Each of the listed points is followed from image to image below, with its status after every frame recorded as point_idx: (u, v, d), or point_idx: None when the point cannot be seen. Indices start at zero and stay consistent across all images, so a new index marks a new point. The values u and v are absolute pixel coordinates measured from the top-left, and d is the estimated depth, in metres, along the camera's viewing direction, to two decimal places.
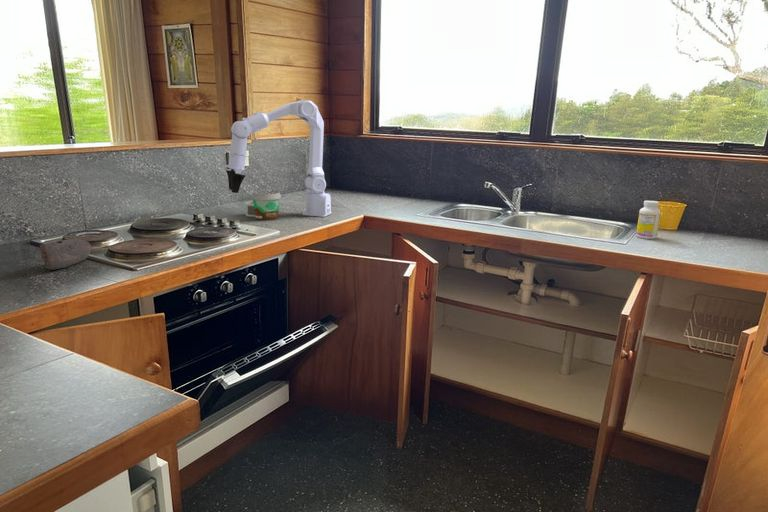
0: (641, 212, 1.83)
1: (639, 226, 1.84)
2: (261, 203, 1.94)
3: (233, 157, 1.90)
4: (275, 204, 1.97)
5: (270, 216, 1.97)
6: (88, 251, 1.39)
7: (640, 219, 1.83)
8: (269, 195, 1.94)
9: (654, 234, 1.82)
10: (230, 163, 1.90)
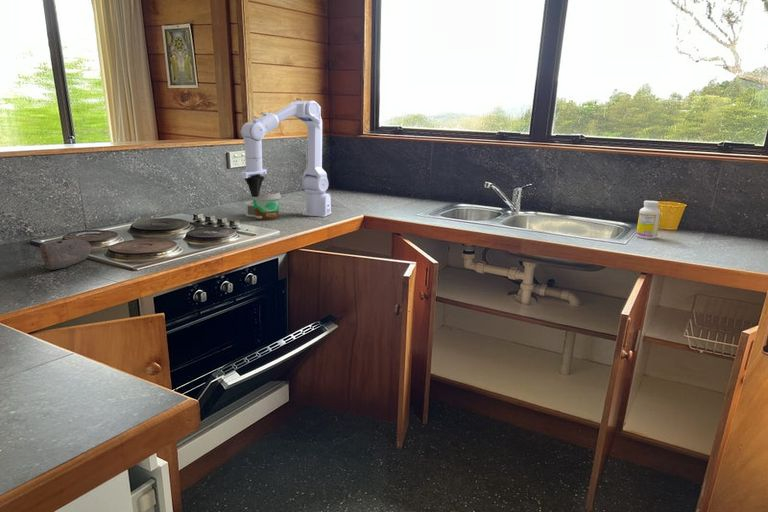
0: (641, 212, 1.83)
1: (639, 226, 1.84)
2: (261, 203, 1.94)
3: (246, 161, 1.82)
4: (275, 204, 1.97)
5: (270, 216, 1.97)
6: (88, 251, 1.39)
7: (640, 219, 1.83)
8: (269, 195, 1.94)
9: (654, 234, 1.82)
10: None
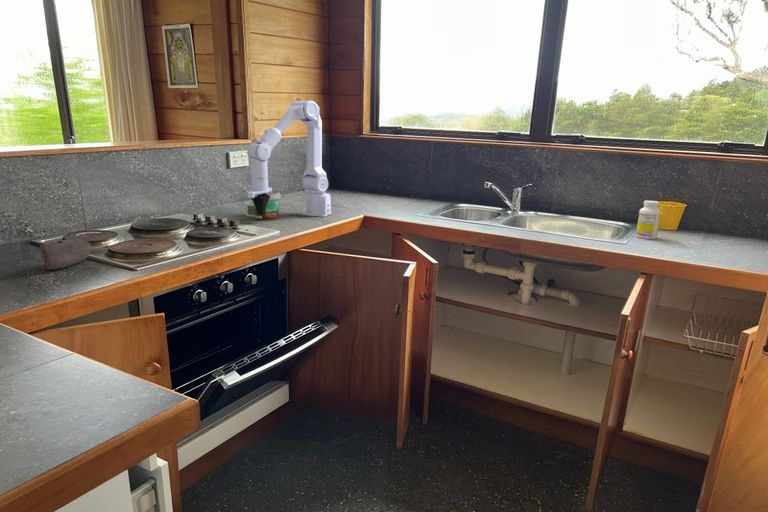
0: (641, 212, 1.83)
1: (639, 226, 1.84)
2: None
3: (252, 181, 1.87)
4: (275, 204, 1.97)
5: (270, 216, 1.97)
6: (88, 251, 1.39)
7: (640, 219, 1.83)
8: None
9: (654, 234, 1.82)
10: (252, 187, 1.89)
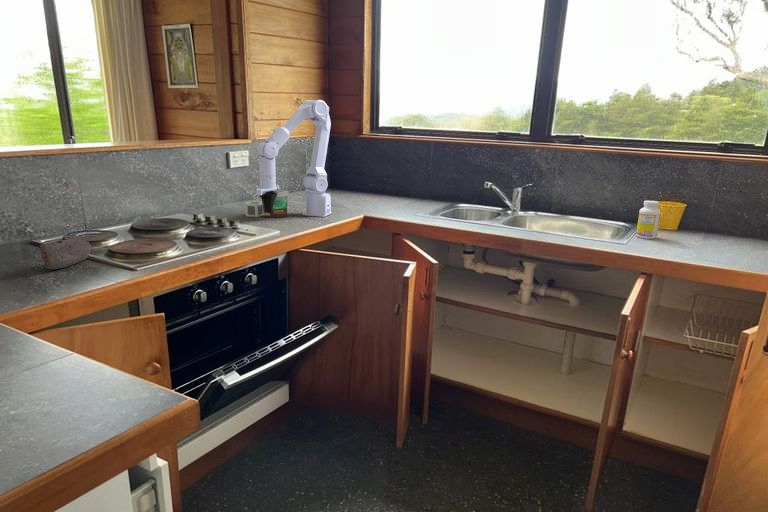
0: (641, 212, 1.83)
1: (639, 226, 1.84)
2: None
3: (260, 178, 1.93)
4: (282, 202, 2.02)
5: (278, 213, 2.02)
6: (88, 251, 1.39)
7: (640, 219, 1.83)
8: (276, 192, 1.99)
9: (654, 234, 1.82)
10: (260, 185, 1.94)
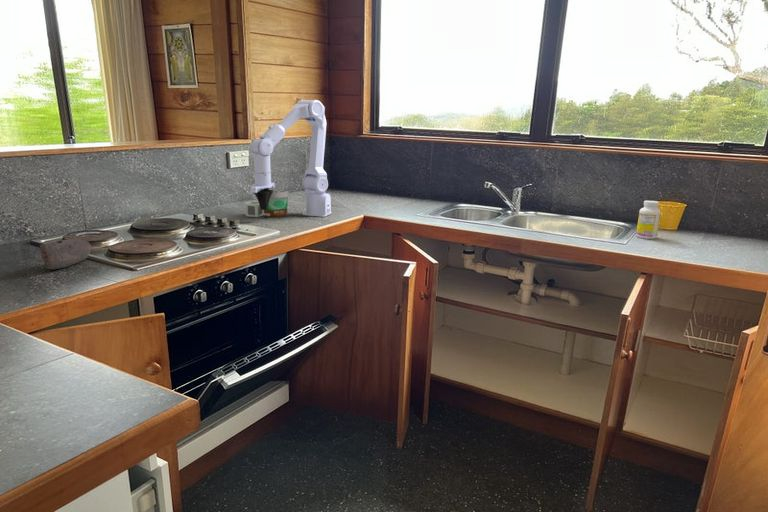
0: (641, 212, 1.83)
1: (639, 226, 1.84)
2: (269, 201, 1.99)
3: (255, 176, 1.89)
4: (283, 202, 2.02)
5: (278, 214, 2.02)
6: (88, 251, 1.39)
7: (640, 219, 1.83)
8: (276, 193, 1.99)
9: (654, 234, 1.82)
10: (255, 182, 1.90)
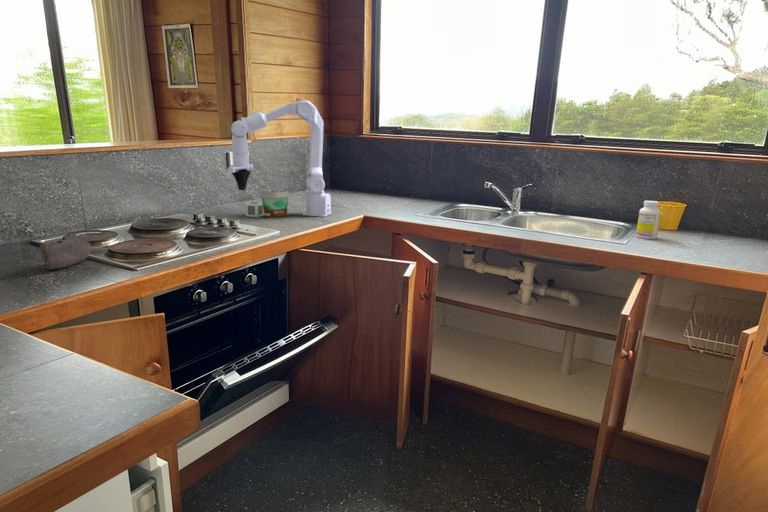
0: (641, 212, 1.83)
1: (639, 226, 1.84)
2: (269, 201, 1.99)
3: (233, 157, 1.95)
4: (283, 202, 2.02)
5: (278, 214, 2.02)
6: (88, 251, 1.39)
7: (640, 219, 1.83)
8: (276, 193, 1.99)
9: (654, 234, 1.82)
10: (233, 163, 1.97)
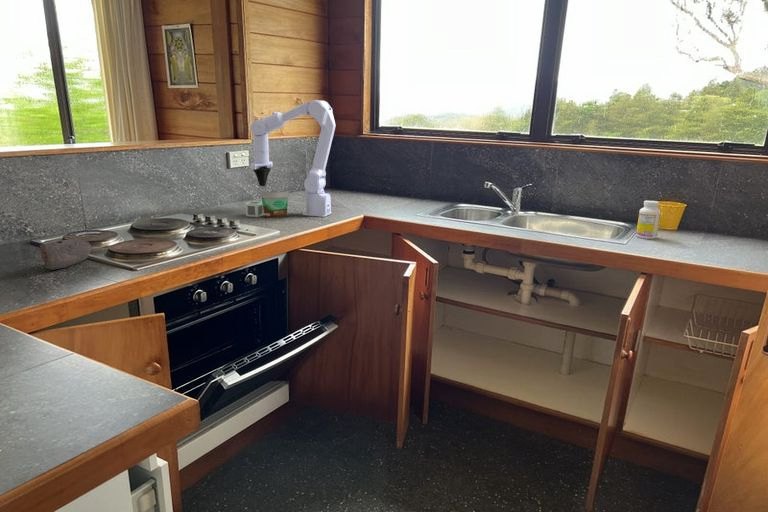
0: (641, 212, 1.83)
1: (639, 226, 1.84)
2: (269, 201, 1.99)
3: (254, 154, 2.06)
4: (283, 202, 2.02)
5: (278, 214, 2.02)
6: (88, 251, 1.39)
7: (640, 219, 1.83)
8: (277, 193, 1.99)
9: (654, 234, 1.82)
10: (254, 160, 2.08)
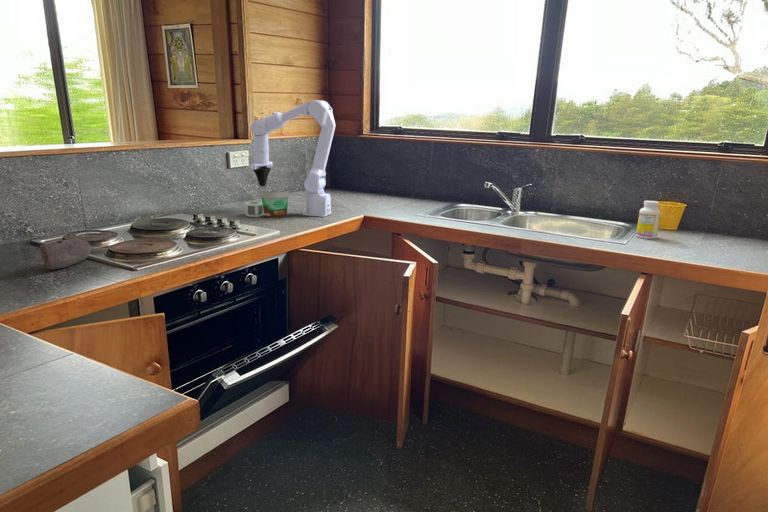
0: (641, 212, 1.83)
1: (639, 226, 1.84)
2: (269, 201, 1.99)
3: (254, 154, 2.06)
4: (283, 202, 2.02)
5: (278, 214, 2.02)
6: (88, 251, 1.39)
7: (640, 219, 1.83)
8: (277, 193, 1.99)
9: (654, 234, 1.82)
10: (254, 160, 2.08)
